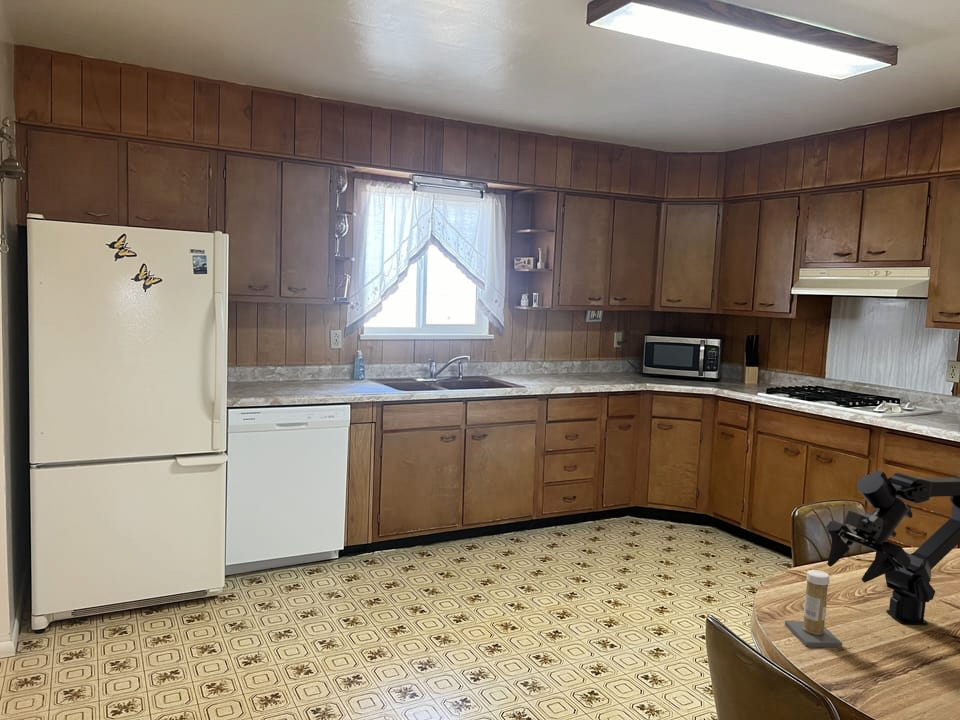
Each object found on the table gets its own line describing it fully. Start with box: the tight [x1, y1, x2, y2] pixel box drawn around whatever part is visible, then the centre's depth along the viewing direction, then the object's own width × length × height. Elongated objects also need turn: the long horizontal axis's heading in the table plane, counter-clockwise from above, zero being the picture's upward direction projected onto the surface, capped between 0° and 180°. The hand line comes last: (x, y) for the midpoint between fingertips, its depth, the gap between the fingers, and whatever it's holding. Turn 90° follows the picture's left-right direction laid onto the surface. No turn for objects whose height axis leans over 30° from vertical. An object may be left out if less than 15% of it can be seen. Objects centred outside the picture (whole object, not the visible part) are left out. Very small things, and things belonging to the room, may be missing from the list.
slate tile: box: [784, 620, 843, 648], centre depth 160 cm, size 8×10×1 cm
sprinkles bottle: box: [802, 569, 830, 635], centre depth 160 cm, size 5×5×13 cm
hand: (845, 573), depth 162 cm, fingers open, 9 cm apart
